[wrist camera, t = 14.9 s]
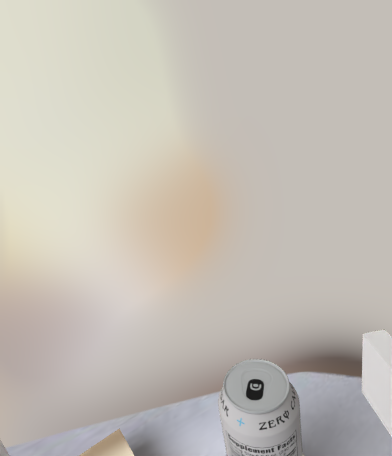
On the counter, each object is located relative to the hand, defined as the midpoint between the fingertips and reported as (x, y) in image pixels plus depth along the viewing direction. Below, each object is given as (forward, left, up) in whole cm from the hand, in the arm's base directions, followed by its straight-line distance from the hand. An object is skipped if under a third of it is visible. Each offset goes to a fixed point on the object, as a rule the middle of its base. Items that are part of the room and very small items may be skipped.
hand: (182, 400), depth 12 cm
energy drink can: (+6, -8, -26) cm, 28 cm away
